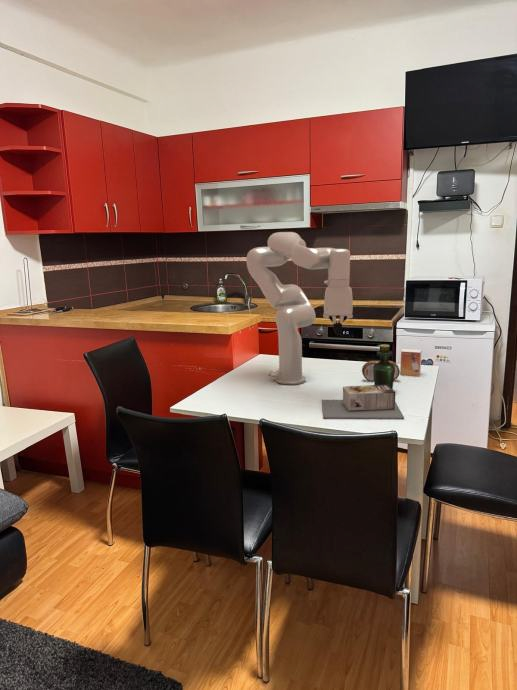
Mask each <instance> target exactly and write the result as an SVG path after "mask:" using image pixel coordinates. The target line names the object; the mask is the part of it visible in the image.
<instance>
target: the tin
mask: <svg viewBox="0 0 517 690" xmlns="http://www.w3.org/2000/svg"><path fill="white" fill-rule="evenodd" d="M378 362H380V360H369V361H366V363H364V364H363V366H362V368H361V373H362V375H363V377H364V379H366V381H369V382H374V371H373V366H374V365H375V364H376V363H378ZM388 362H390V363H392V364H393V365H394V367H395V373H394V381H396V380H397V379H398V378H399V376H400V367H399V365H398V364H397V363H396V362H395V361H392V360H388Z"/></svg>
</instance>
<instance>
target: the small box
mask: <svg viewBox="0 0 517 690" xmlns="http://www.w3.org/2000/svg"><path fill="white" fill-rule="evenodd" d="M421 366H422V349H411V348H409V349H408V348H402V349H401V352H400V367H399V370H400V373H399V376H411V377H420V375H421V368H422V367H421Z"/></svg>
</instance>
